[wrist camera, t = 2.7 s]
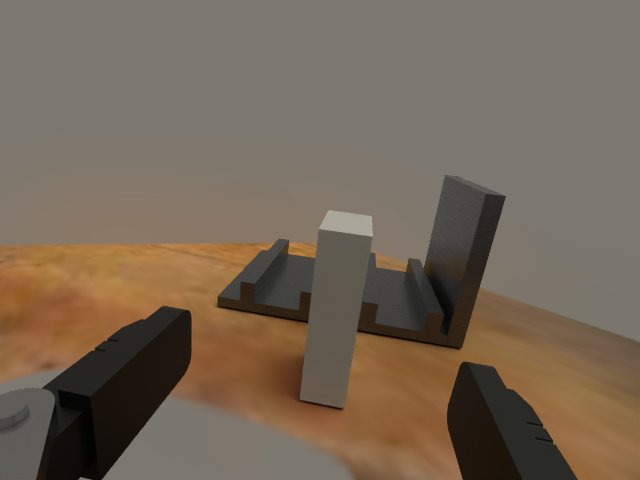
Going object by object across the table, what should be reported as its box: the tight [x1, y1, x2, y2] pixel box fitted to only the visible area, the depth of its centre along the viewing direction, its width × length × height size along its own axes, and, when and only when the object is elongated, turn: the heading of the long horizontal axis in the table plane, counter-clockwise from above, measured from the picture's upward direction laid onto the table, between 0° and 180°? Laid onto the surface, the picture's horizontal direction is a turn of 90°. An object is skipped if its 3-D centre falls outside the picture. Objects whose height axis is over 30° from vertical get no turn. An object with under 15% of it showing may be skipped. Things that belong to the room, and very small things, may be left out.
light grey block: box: [300, 210, 373, 408], centre depth 22 cm, size 3×5×12 cm, turn 172°
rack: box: [218, 175, 506, 348], centre depth 35 cm, size 23×15×14 cm, turn 82°
